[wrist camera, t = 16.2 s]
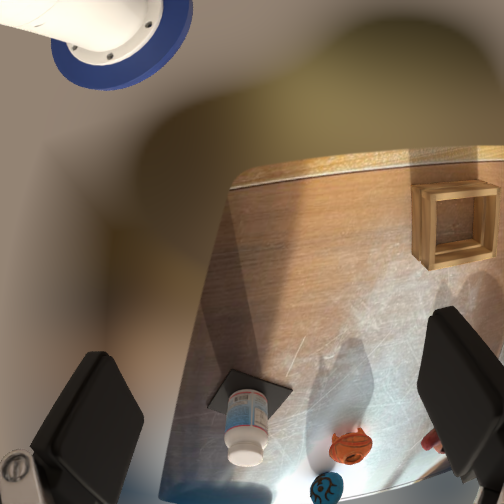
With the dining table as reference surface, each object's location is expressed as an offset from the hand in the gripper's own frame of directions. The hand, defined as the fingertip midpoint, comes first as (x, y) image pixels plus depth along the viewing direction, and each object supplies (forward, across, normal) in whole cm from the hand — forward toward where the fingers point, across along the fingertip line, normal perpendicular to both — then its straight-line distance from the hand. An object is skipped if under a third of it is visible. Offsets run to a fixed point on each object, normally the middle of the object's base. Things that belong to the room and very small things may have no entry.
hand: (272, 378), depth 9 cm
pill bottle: (+28, +7, +31) cm, 43 cm away
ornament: (+28, -4, +60) cm, 67 cm away
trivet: (+28, +7, +31) cm, 43 cm away
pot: (+28, -9, +45) cm, 54 cm away
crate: (+28, -22, +6) cm, 37 cm away
